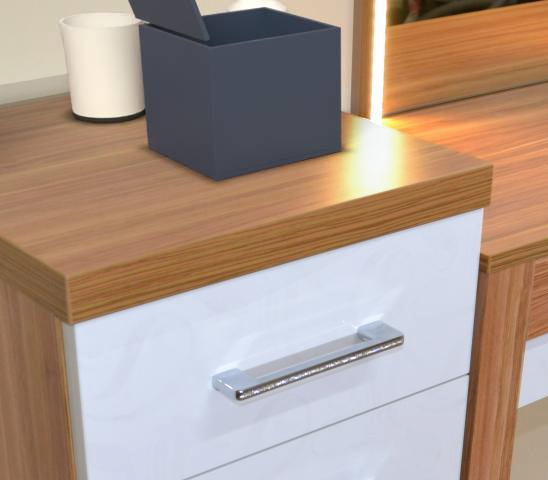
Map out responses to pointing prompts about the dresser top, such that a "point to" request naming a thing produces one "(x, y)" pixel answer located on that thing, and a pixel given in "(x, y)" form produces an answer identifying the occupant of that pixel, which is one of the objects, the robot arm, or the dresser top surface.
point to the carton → (243, 91)
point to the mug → (104, 66)
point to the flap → (172, 16)
